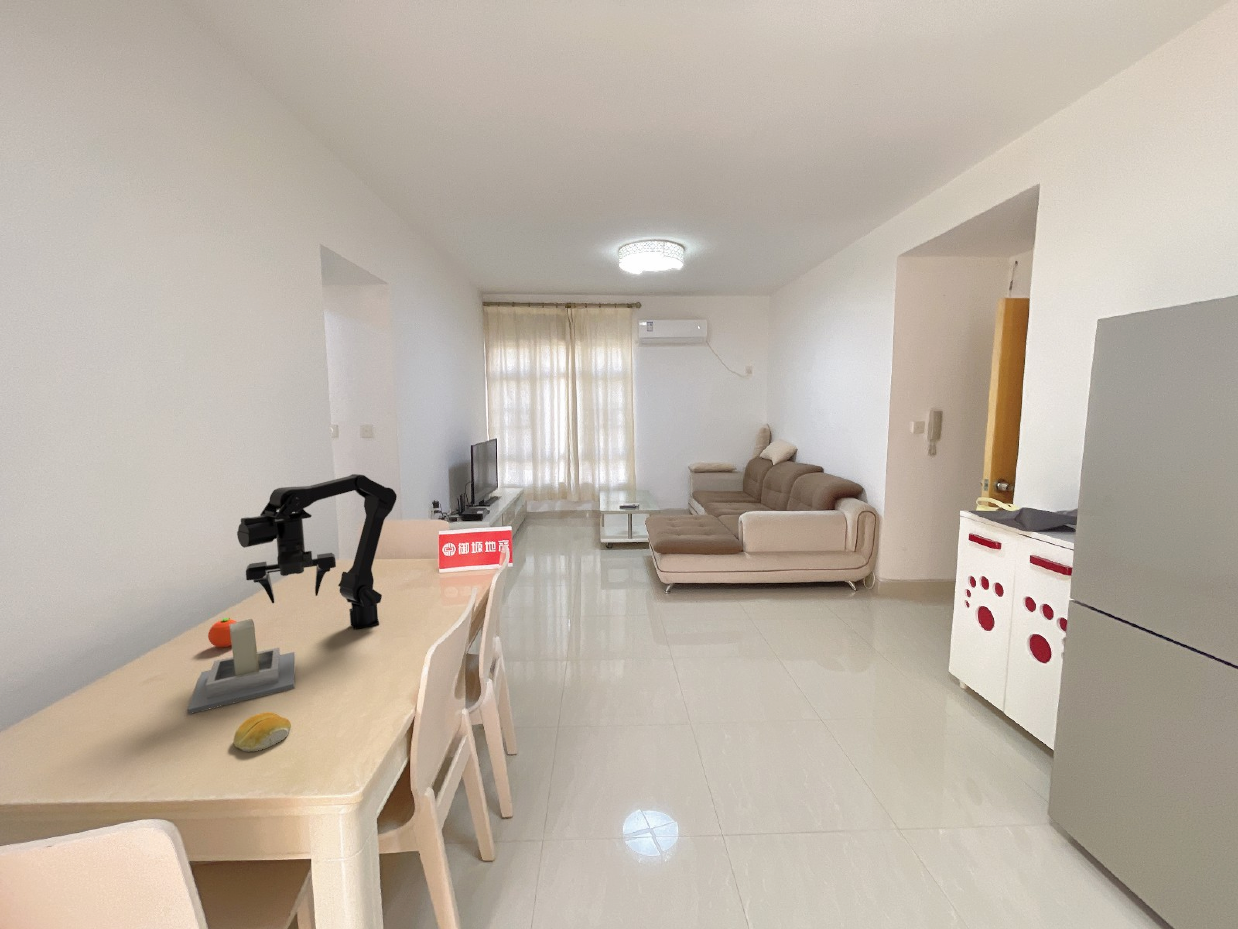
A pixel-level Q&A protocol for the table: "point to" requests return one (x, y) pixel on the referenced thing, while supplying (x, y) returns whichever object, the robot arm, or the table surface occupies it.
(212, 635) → the clementine
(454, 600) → the table surface
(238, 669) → the skincare box
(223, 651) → the table surface
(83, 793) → the table surface
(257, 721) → the bread roll
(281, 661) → the port base
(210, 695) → the port collar
